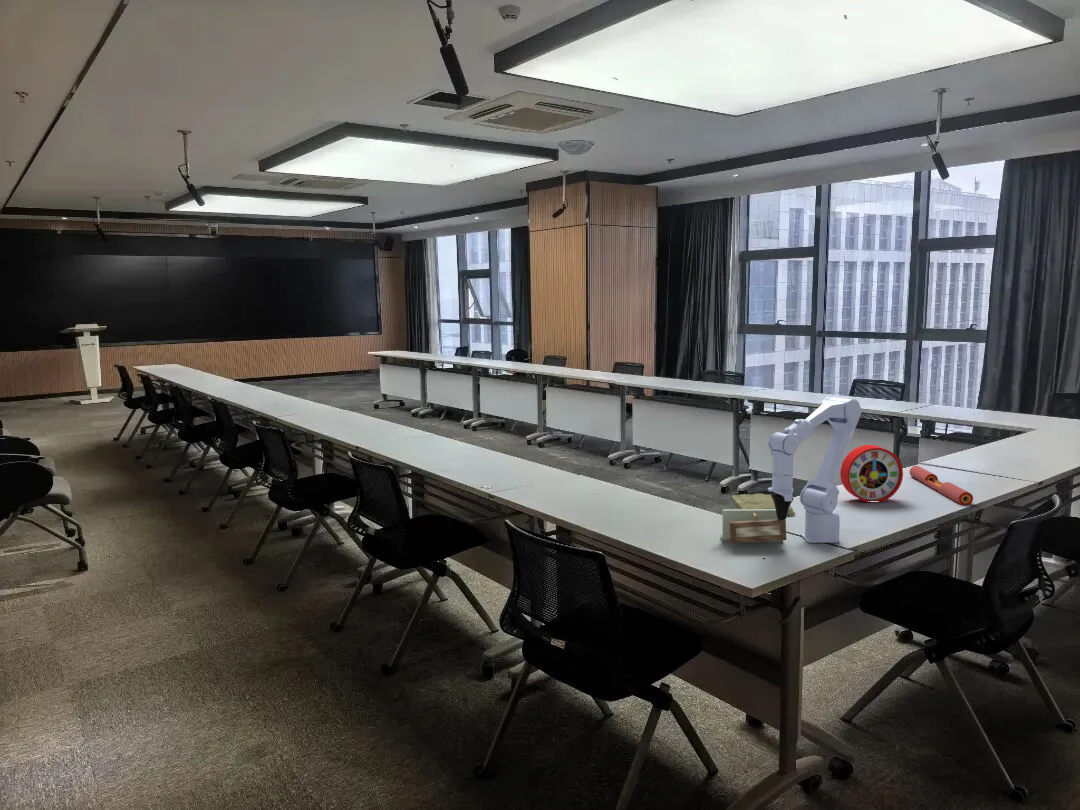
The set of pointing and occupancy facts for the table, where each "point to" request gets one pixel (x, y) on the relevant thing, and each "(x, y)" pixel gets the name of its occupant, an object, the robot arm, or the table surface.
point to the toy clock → (871, 473)
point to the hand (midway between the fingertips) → (781, 518)
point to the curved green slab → (744, 519)
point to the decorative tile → (756, 502)
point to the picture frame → (757, 530)
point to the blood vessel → (942, 486)
